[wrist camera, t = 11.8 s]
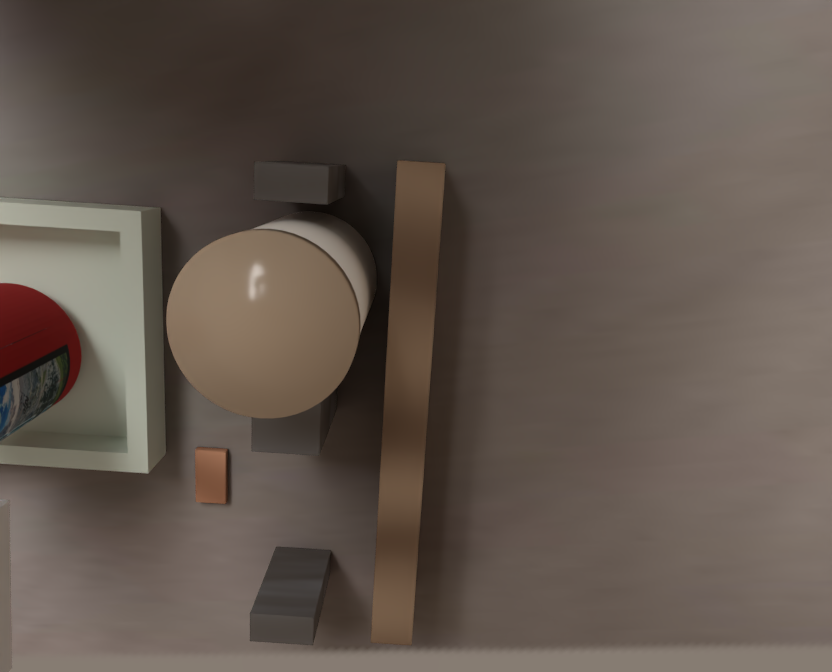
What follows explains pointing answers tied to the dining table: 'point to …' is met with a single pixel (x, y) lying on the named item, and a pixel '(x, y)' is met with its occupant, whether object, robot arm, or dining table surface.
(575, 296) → the dining table surface
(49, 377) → the beverage can
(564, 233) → the dining table surface
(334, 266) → the ceramic jar
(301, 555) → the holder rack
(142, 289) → the tray
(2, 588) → the robot arm
